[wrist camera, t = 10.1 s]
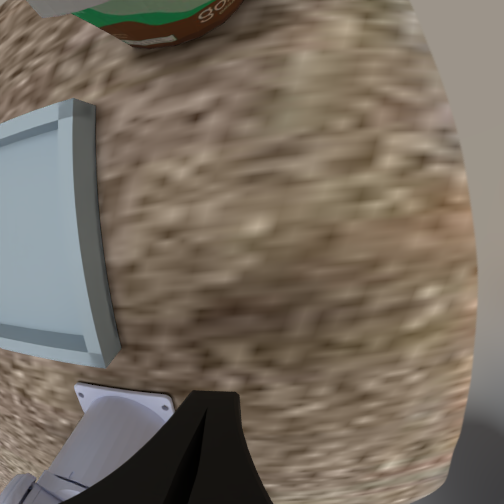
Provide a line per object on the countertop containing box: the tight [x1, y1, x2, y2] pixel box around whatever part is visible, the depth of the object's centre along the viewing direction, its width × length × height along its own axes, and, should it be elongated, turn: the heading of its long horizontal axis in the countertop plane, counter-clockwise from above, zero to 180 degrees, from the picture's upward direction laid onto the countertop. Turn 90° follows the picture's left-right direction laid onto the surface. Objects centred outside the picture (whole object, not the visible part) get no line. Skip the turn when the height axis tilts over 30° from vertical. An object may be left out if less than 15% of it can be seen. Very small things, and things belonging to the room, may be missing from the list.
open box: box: [0, 98, 121, 368], centre depth 16 cm, size 15×14×2 cm
